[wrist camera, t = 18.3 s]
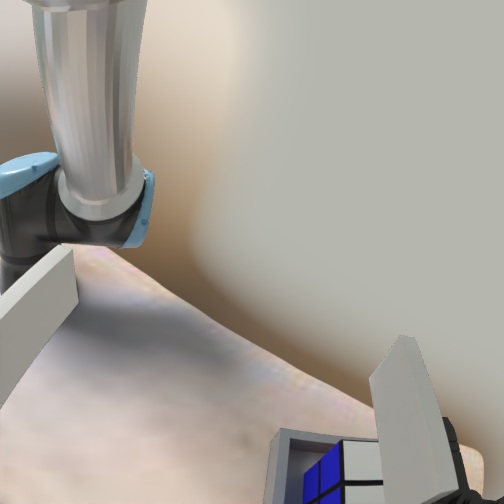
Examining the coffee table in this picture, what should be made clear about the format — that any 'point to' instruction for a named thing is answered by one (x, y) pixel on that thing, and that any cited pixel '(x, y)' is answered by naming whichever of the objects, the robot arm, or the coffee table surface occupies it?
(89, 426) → the coffee table surface
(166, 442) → the coffee table surface
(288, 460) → the tote
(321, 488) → the puzzle cube
